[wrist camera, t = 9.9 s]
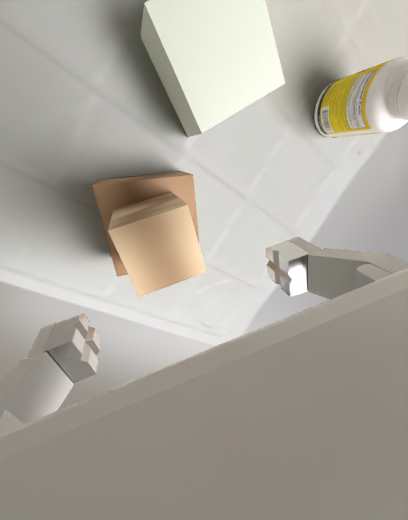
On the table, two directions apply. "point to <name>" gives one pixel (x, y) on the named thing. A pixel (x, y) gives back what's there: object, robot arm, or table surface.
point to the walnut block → (140, 199)
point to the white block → (211, 56)
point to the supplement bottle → (365, 101)
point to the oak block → (156, 242)
